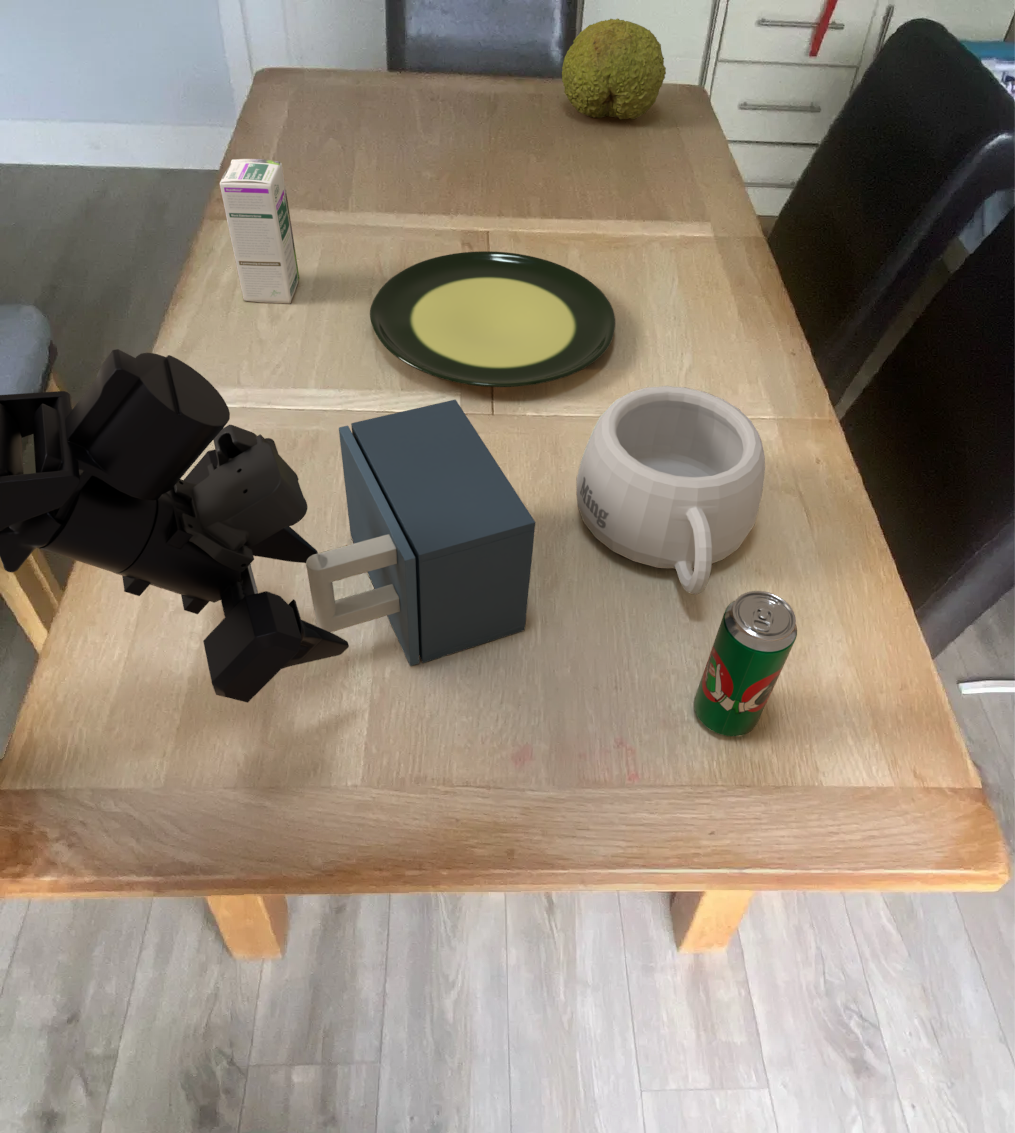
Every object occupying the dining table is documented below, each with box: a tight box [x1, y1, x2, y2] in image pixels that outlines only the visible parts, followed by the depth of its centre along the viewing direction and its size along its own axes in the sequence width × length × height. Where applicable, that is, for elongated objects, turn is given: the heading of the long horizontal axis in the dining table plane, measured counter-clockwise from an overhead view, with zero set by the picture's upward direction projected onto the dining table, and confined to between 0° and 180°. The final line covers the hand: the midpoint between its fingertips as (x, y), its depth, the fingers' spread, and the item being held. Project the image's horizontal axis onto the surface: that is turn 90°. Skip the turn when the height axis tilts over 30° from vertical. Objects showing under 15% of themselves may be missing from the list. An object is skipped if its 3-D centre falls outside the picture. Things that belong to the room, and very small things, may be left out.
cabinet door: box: [305, 425, 420, 667], centre depth 71 cm, size 7×16×12 cm, turn 24°
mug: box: [576, 385, 766, 595], centre depth 80 cm, size 21×17×10 cm
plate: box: [369, 250, 616, 388], centre depth 104 cm, size 28×28×2 cm
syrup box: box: [218, 158, 300, 304], centre depth 103 cm, size 6×6×14 cm
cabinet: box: [350, 399, 536, 664], centre depth 73 cm, size 9×16×13 cm, turn 24°
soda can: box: [693, 590, 798, 737], centre depth 66 cm, size 5×5×12 cm
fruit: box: [561, 17, 667, 121], centre depth 145 cm, size 16×14×15 cm
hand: (329, 601), depth 66 cm, fingers open, 9 cm apart
